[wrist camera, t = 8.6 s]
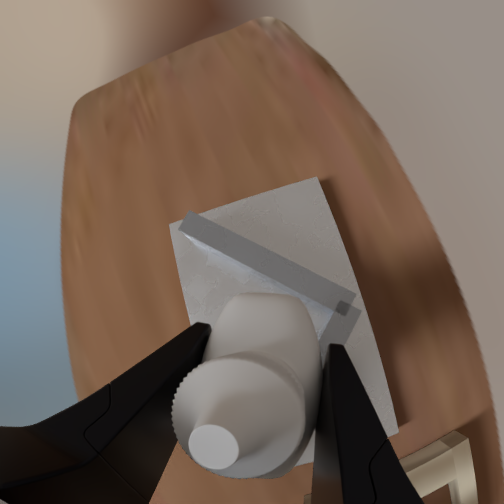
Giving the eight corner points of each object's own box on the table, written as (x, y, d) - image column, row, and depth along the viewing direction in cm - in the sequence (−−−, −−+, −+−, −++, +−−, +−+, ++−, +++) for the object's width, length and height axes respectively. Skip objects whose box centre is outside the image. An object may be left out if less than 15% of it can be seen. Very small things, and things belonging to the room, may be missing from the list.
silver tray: (238, 472, 20) (227, 494, 16) (173, 228, 25) (152, 210, 21) (395, 428, 19) (411, 445, 15) (316, 182, 24) (318, 155, 21)
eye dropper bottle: (212, 386, 15) (41, 461, 4) (272, 296, 16) (196, 193, 5) (283, 432, 14) (239, 603, 3) (345, 340, 15) (463, 351, 3)
